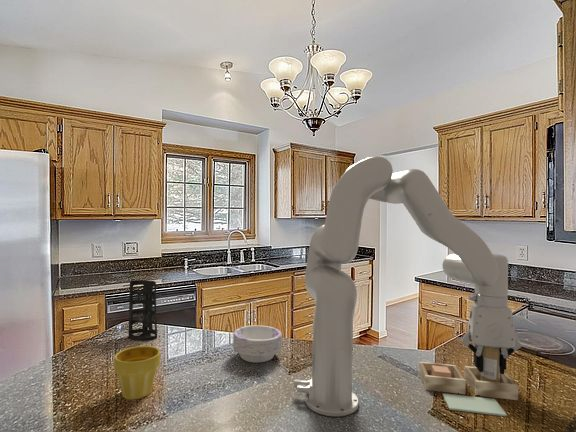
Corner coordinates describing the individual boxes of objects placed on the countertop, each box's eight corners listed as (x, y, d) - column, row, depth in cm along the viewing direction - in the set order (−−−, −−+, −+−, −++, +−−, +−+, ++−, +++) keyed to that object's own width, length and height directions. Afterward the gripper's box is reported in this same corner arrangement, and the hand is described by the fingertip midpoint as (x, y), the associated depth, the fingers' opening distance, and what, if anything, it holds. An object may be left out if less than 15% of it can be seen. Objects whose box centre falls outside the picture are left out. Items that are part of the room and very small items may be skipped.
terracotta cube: (434, 386, 92) (434, 371, 92) (431, 379, 96) (431, 365, 96) (450, 388, 91) (450, 373, 91) (446, 381, 95) (447, 366, 95)
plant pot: (130, 409, 78) (131, 365, 78) (104, 395, 83) (105, 355, 83) (168, 390, 87) (169, 351, 87) (142, 379, 92) (143, 342, 92)
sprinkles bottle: (503, 390, 90) (503, 338, 90) (494, 394, 88) (495, 341, 88) (485, 383, 94) (485, 333, 94) (476, 387, 92) (476, 336, 92)
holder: (122, 340, 121) (124, 283, 121) (132, 333, 129) (133, 279, 129) (154, 341, 121) (155, 283, 121) (162, 333, 129) (163, 280, 129)
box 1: (425, 389, 90) (425, 376, 90) (419, 373, 99) (419, 361, 99) (465, 394, 88) (465, 380, 88) (455, 377, 97) (455, 365, 97)
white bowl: (290, 360, 107) (291, 334, 107) (246, 371, 98) (247, 343, 98) (265, 345, 120) (266, 321, 120) (224, 353, 111) (225, 329, 111)
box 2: (475, 395, 87) (475, 381, 87) (464, 378, 97) (464, 365, 97) (518, 400, 85) (518, 385, 85) (502, 382, 95) (502, 369, 95)
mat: (449, 409, 80) (449, 407, 80) (442, 394, 87) (442, 393, 87) (506, 416, 78) (506, 414, 78) (494, 400, 85) (494, 399, 85)
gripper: (460, 302, 89) (459, 373, 89) (533, 306, 86) (532, 381, 86) (452, 296, 97) (451, 362, 96) (519, 300, 93) (519, 368, 93)
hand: (489, 370), depth 91 cm, fingers closed on sprinkles bottle, 4 cm apart
